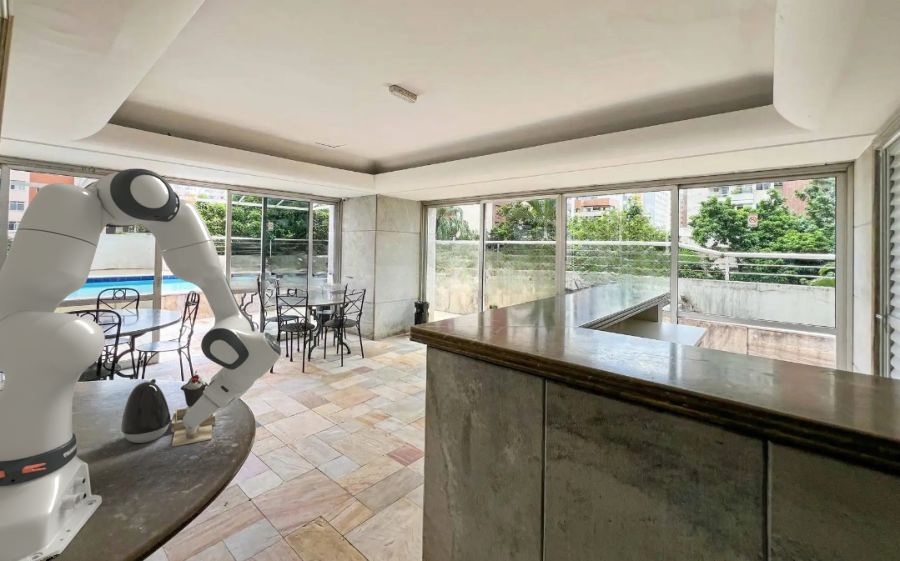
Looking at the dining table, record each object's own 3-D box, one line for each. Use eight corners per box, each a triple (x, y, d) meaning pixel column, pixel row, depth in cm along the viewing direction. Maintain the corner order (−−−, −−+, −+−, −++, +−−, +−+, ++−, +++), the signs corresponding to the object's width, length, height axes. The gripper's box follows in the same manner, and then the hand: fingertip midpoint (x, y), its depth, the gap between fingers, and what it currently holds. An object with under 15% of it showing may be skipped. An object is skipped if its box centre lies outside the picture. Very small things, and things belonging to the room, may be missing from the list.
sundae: (195, 425, 110) (194, 374, 109) (175, 422, 111) (174, 372, 110) (213, 415, 116) (213, 367, 115) (194, 413, 118) (193, 365, 116)
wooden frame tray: (215, 438, 103) (214, 407, 102) (167, 447, 98) (167, 415, 97) (215, 411, 119) (214, 385, 118) (174, 418, 114) (174, 390, 113)
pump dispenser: (177, 427, 109) (175, 374, 107) (162, 445, 99) (160, 387, 97) (133, 431, 105) (131, 377, 104) (113, 450, 96) (111, 390, 94)
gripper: (234, 364, 112) (198, 398, 111) (204, 390, 92) (159, 431, 91) (251, 378, 114) (215, 412, 113) (224, 407, 94) (180, 448, 93)
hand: (190, 421), depth 102 cm, fingers closed on wooden frame tray, 3 cm apart
